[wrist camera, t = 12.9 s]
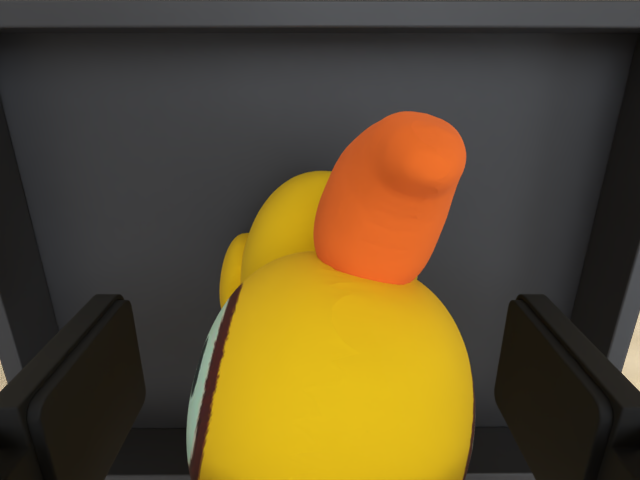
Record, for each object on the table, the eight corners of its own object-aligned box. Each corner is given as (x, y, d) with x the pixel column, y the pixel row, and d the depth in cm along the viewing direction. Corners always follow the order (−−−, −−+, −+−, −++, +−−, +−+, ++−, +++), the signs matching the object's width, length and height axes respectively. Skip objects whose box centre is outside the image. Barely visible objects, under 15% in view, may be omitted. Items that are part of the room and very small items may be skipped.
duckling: (270, 58, 13) (147, 55, 3) (451, 105, 13) (767, 212, 4) (210, 379, 17) (77, 773, 8) (349, 405, 17) (387, 806, 8)
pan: (551, 428, 18) (588, 486, 16) (77, 430, 18) (39, 489, 16) (652, 11, 13) (734, -1, 10) (-31, 10, 13) (-116, -2, 10)
